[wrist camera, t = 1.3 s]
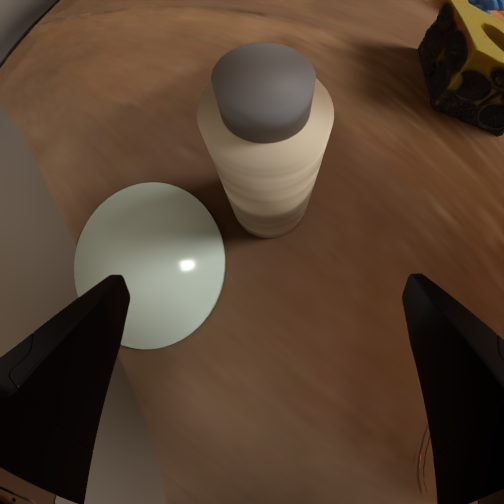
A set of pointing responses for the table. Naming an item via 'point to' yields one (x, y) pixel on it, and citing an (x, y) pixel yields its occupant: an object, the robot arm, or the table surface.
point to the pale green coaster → (155, 260)
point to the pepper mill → (266, 133)
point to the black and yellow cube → (466, 65)
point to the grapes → (488, 5)
